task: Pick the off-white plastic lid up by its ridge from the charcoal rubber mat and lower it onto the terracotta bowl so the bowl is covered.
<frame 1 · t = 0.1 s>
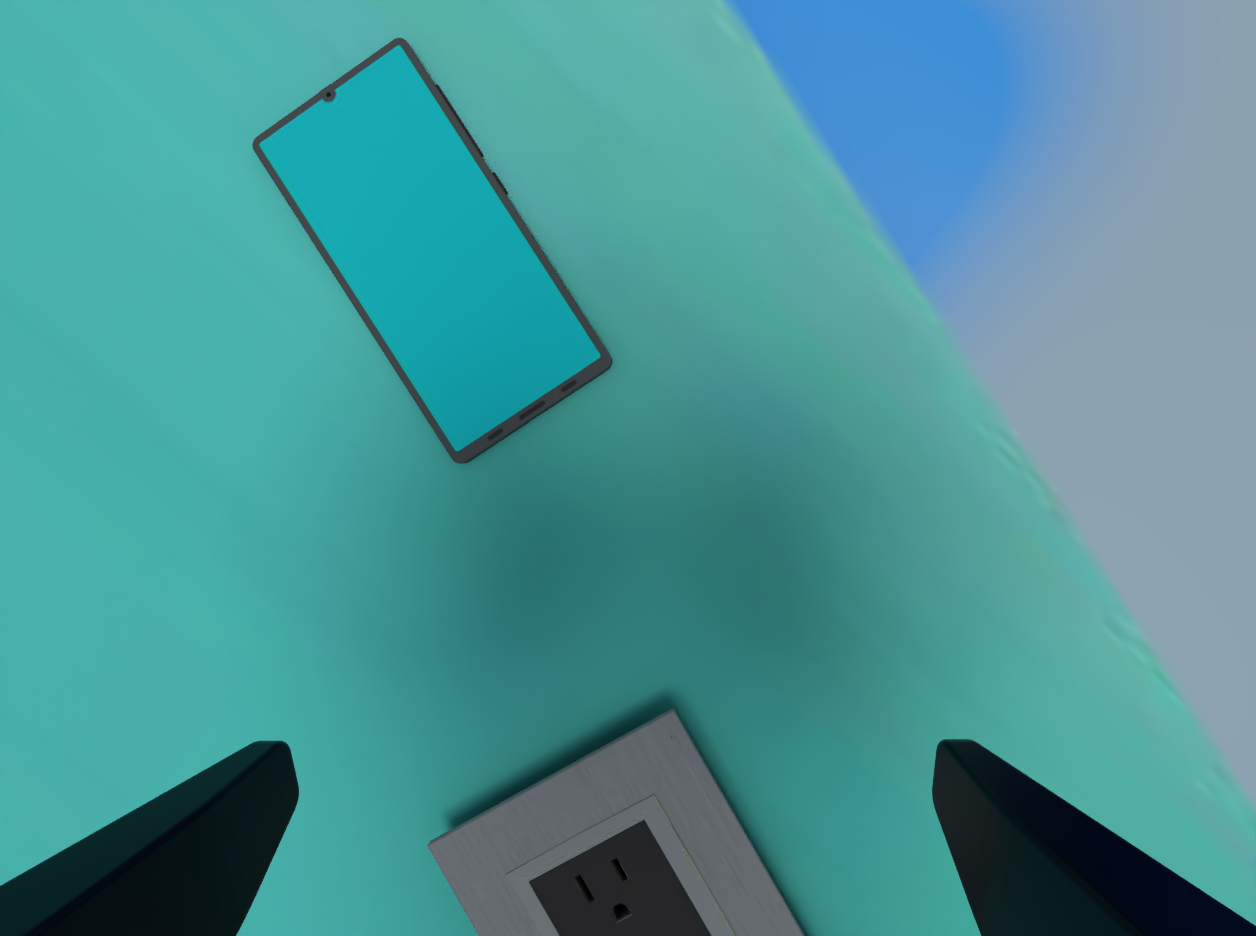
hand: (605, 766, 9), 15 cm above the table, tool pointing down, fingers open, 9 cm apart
electrical outlet: (640, 891, 25), on the table
smartphone: (440, 259, 25), on the table
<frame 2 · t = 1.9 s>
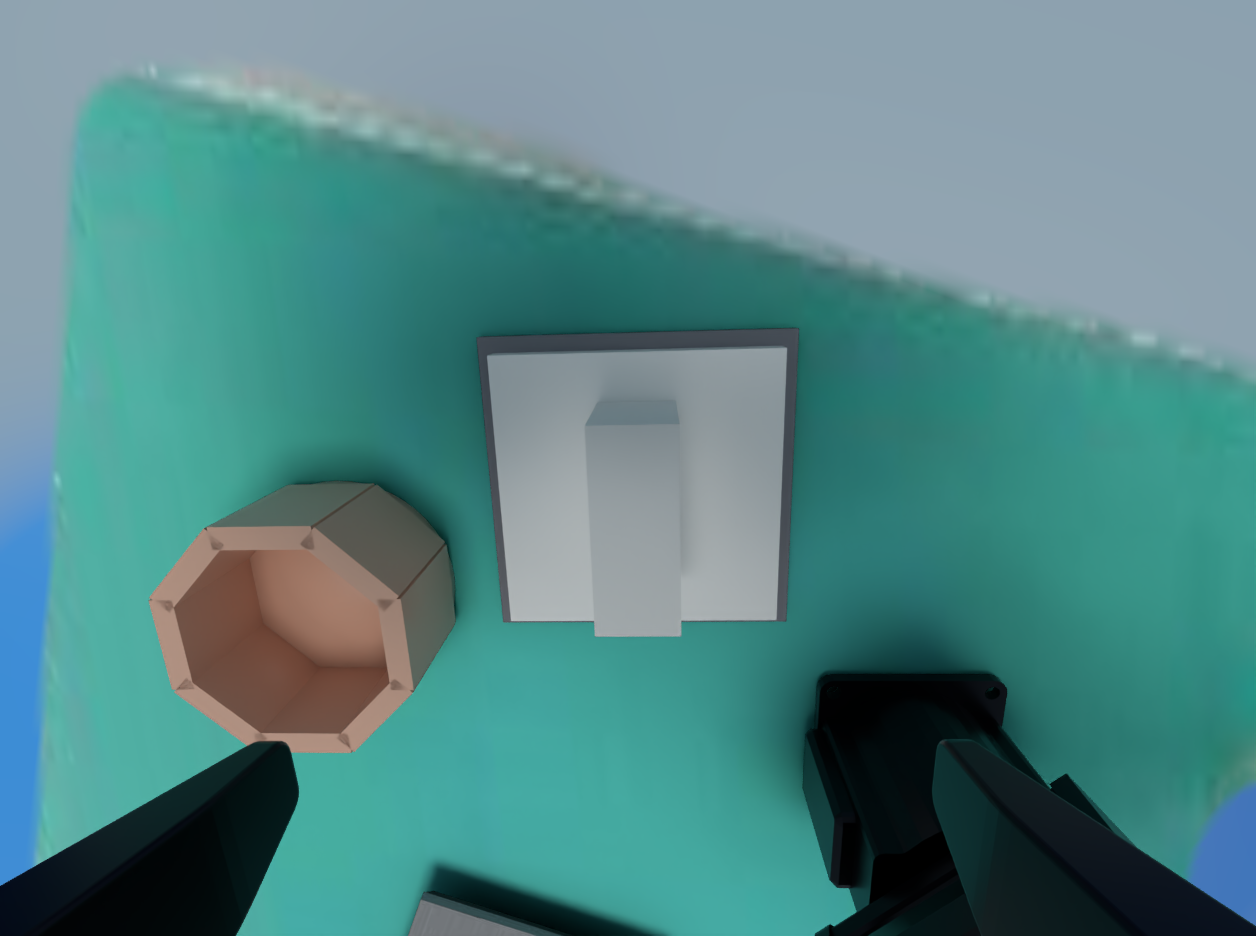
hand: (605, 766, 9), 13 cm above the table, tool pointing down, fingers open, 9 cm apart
bowl: (354, 578, 23), on the table
lid: (639, 486, 21), resting on mat
mat: (639, 483, 21), on the table
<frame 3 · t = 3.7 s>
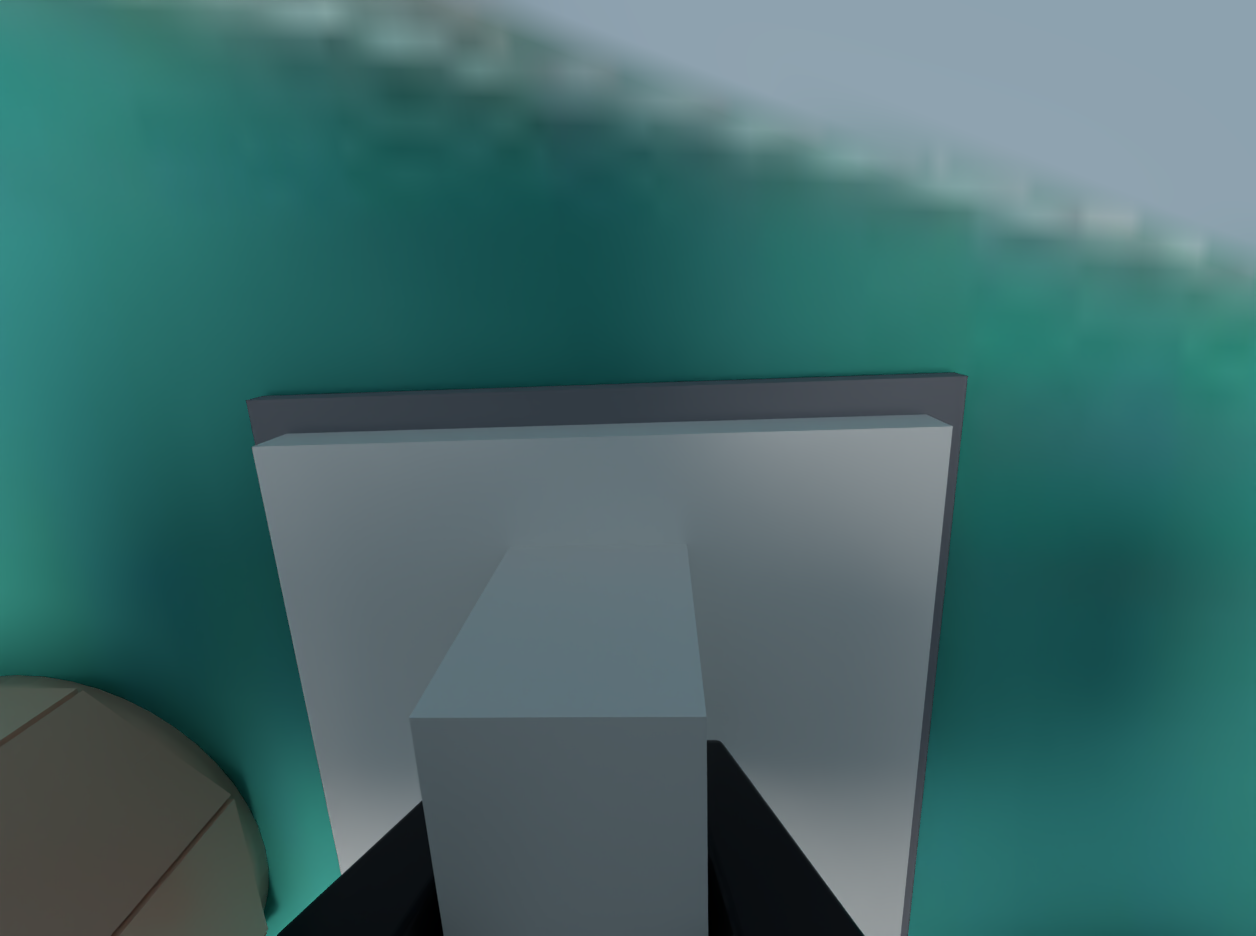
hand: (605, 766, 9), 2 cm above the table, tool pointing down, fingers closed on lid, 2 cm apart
bowl: (81, 841, 12), on the table
lid: (612, 700, 10), resting on mat, touching gripper
mat: (613, 685, 10), on the table
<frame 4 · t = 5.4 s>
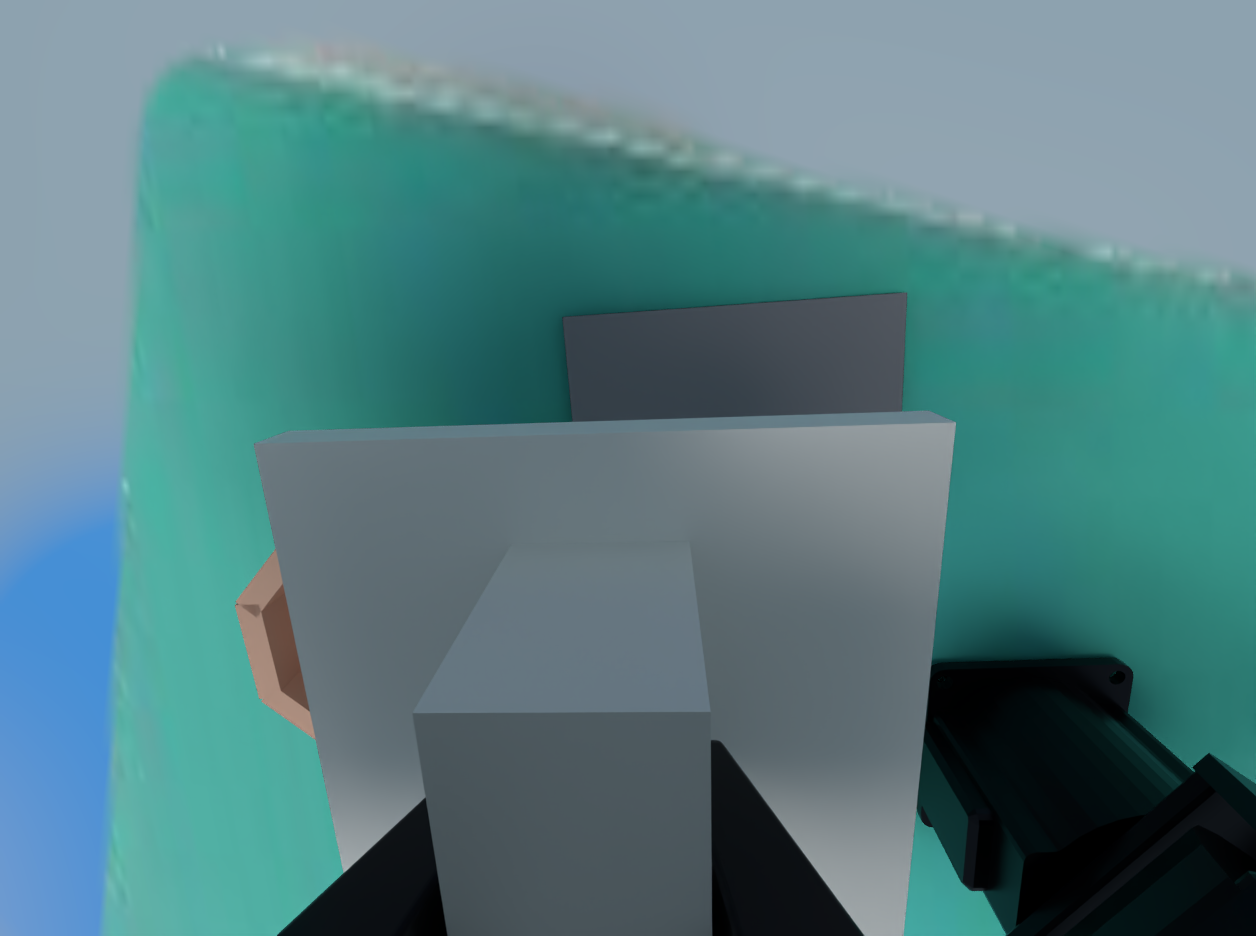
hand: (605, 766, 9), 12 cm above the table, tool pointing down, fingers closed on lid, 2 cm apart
bowl: (432, 577, 22), on the table
lid: (614, 698, 10), point 11 cm above the table, touching gripper
mat: (734, 466, 20), on the table
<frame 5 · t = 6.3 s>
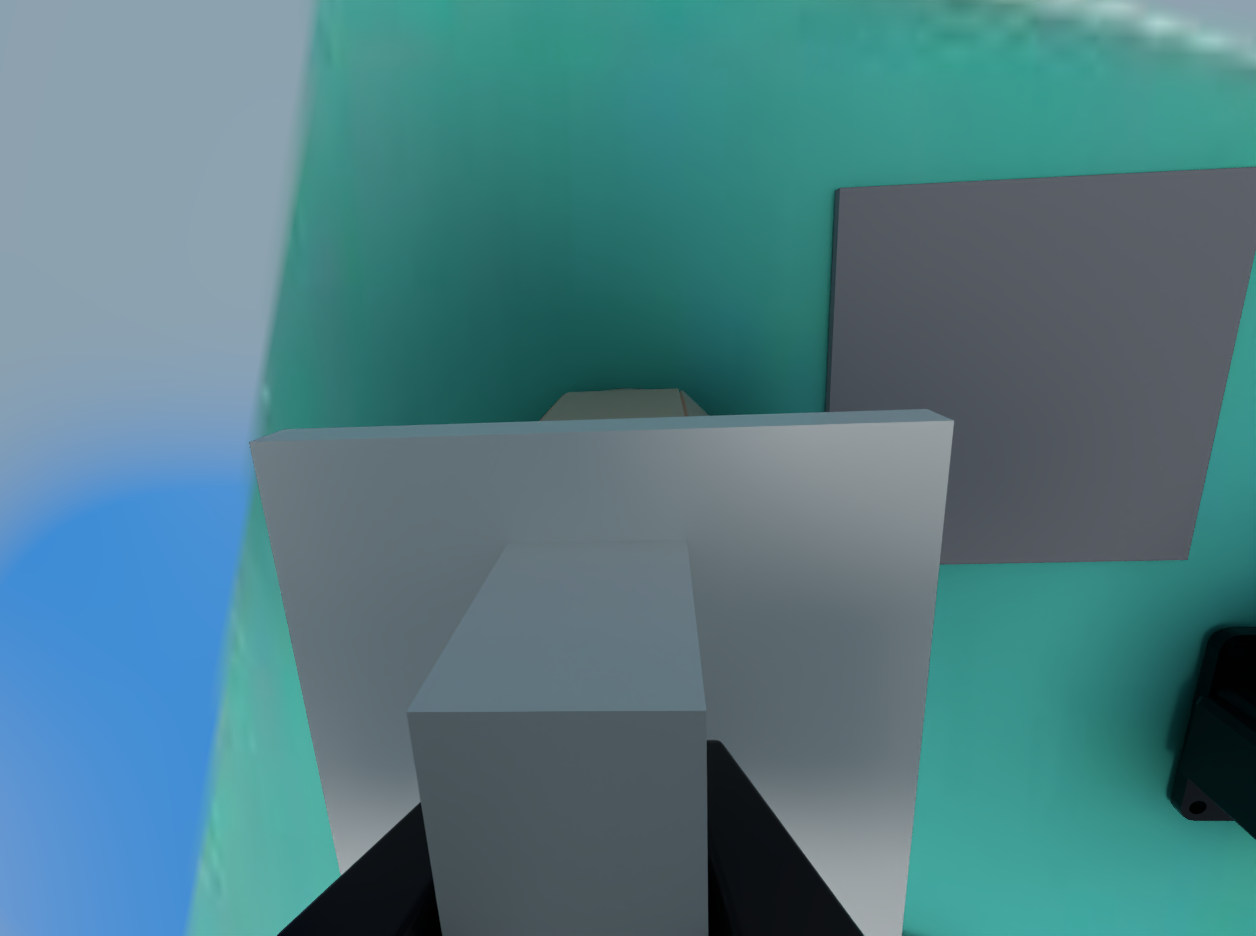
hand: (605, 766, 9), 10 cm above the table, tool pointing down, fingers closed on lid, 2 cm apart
bowl: (629, 515, 18), on the table
lid: (611, 697, 10), point 8 cm above the table, touching gripper
mat: (1016, 384, 17), on the table
when the fingers open (7 cm above the table, at t = 6.9 s): lid drops 1 cm, resting on bowl.
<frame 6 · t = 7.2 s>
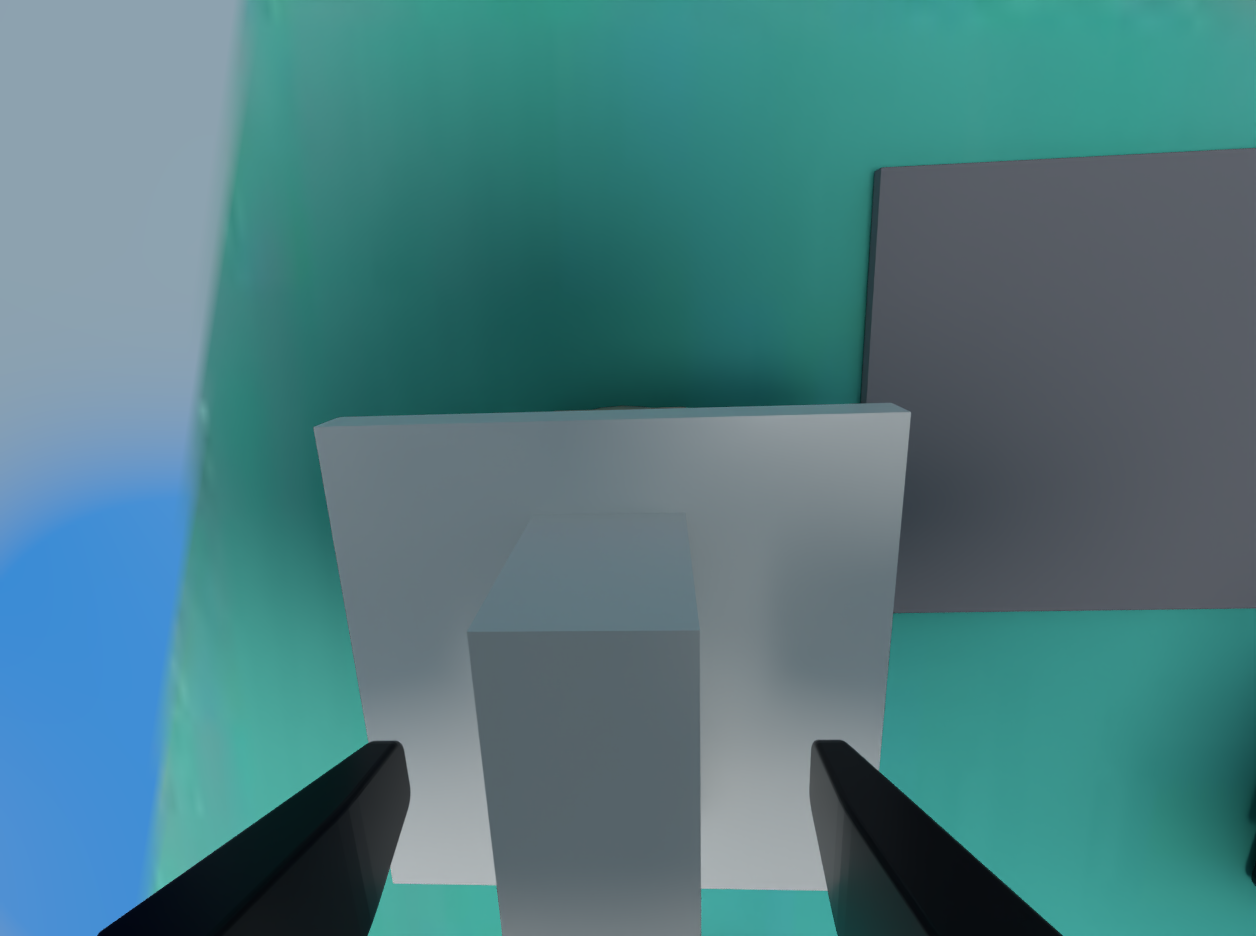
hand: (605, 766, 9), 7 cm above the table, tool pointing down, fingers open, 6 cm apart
lid: (619, 654, 11), point 4 cm above the table, touching bowl
mat: (1086, 401, 14), on the table
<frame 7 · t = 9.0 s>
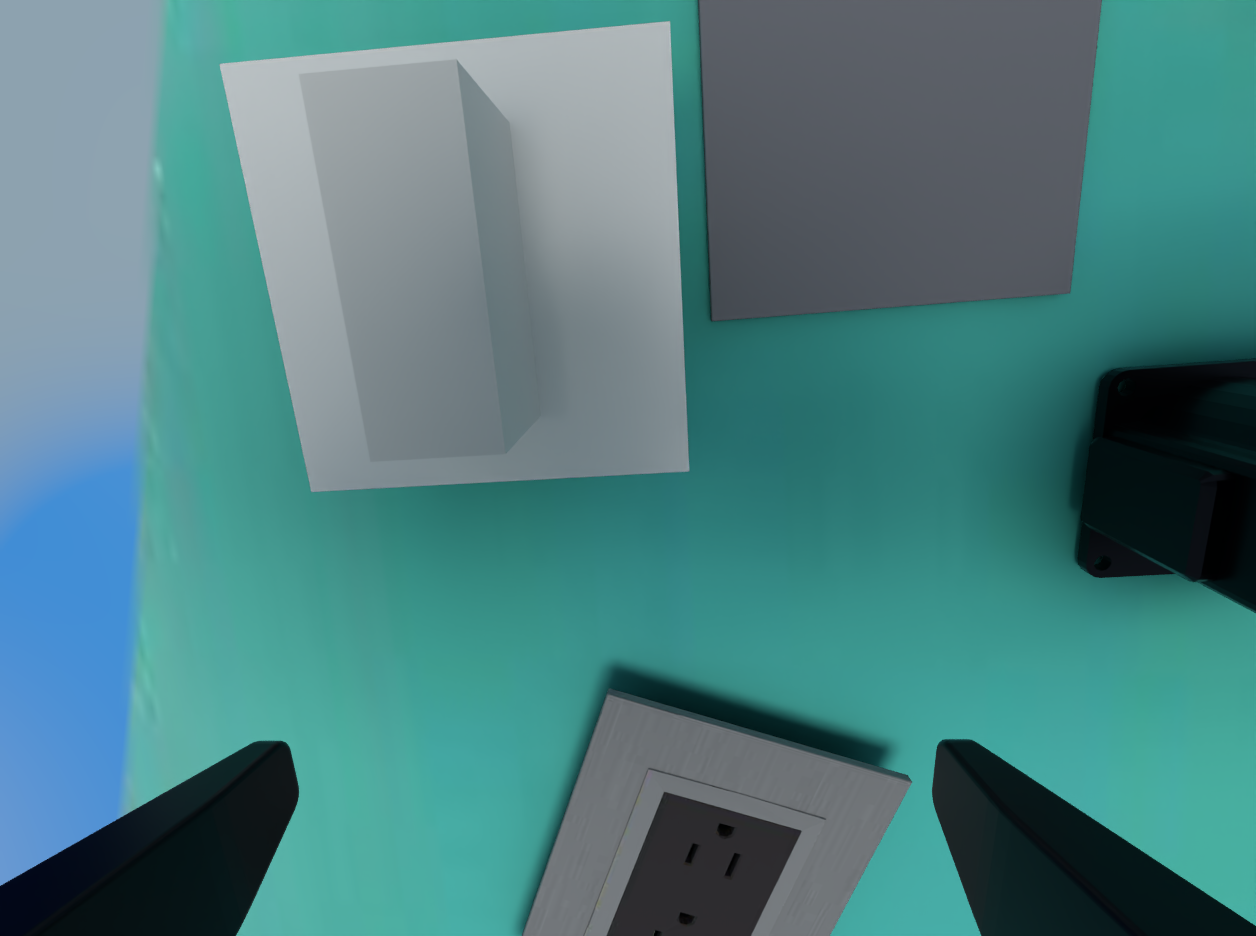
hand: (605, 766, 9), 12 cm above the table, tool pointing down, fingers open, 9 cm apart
lid: (481, 282, 14), point 4 cm above the table, touching bowl
electrical outlet: (692, 833, 24), on the table
mat: (889, 116, 17), on the table
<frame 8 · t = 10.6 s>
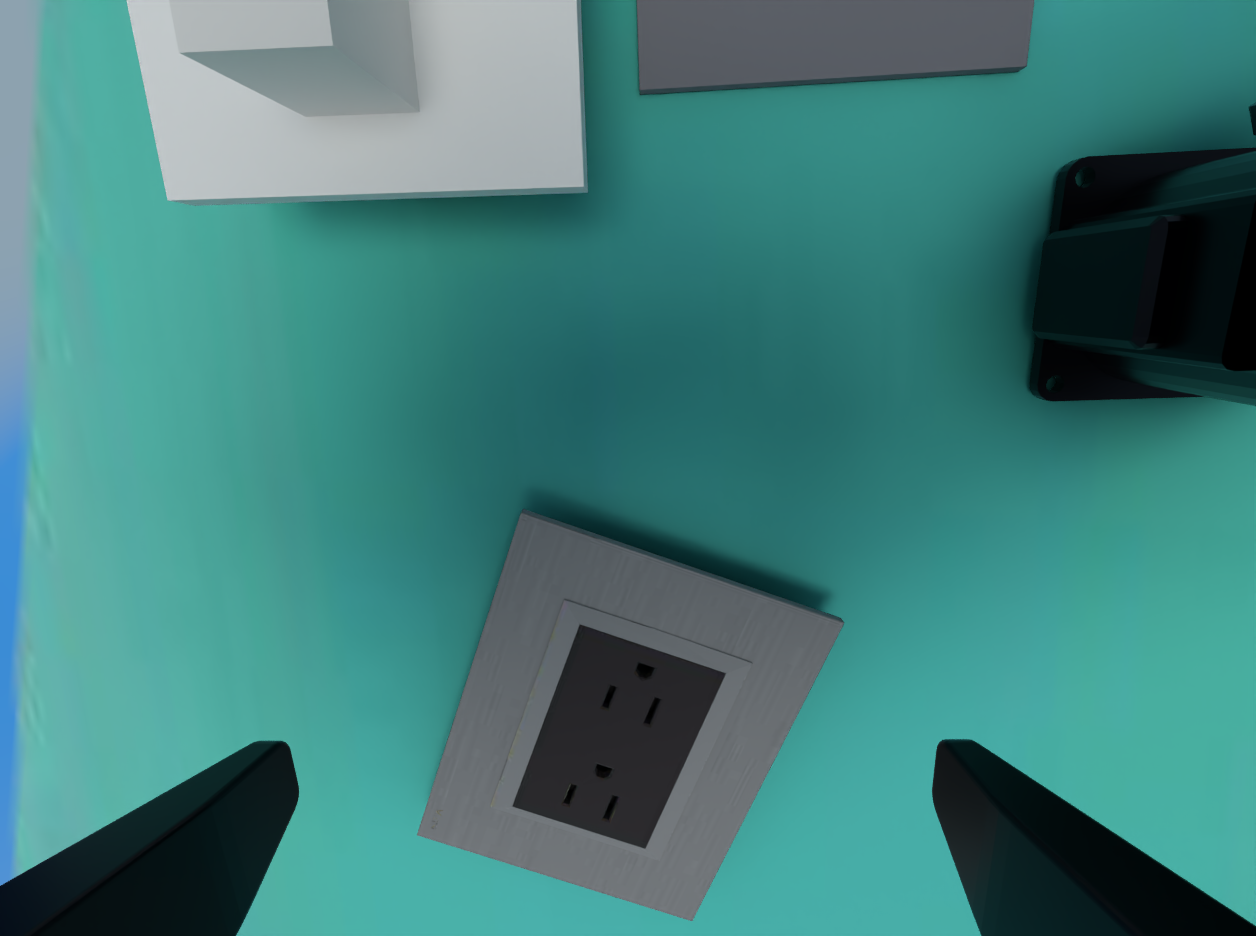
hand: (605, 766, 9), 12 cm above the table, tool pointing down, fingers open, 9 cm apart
electrical outlet: (618, 694, 23), on the table
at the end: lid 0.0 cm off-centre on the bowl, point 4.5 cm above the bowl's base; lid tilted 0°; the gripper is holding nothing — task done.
